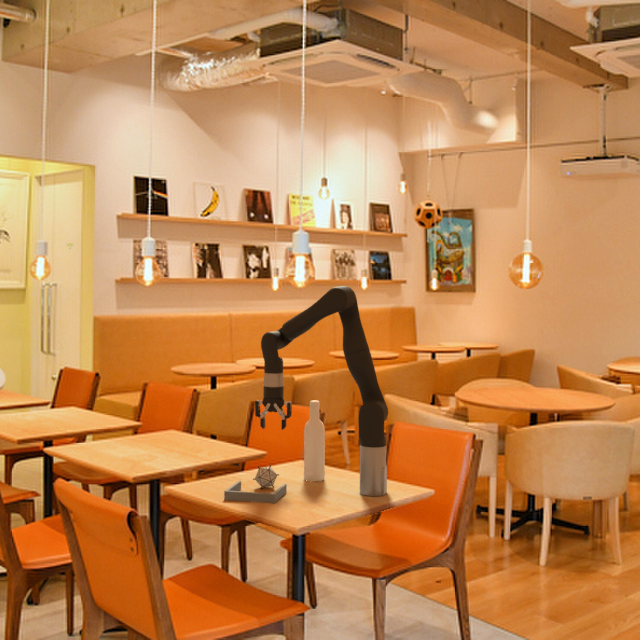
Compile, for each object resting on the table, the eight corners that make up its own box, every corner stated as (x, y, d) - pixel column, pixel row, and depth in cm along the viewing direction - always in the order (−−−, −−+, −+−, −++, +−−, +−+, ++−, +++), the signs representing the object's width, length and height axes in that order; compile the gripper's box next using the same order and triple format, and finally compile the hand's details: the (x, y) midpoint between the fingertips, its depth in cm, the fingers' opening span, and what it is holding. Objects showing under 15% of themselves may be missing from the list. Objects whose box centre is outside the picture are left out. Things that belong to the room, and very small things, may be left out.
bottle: (319, 483, 313) (319, 403, 312) (300, 480, 316) (300, 401, 315) (328, 478, 320) (328, 400, 319) (309, 476, 324) (310, 398, 322)
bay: (286, 492, 299) (286, 484, 299) (274, 503, 284) (274, 494, 284) (238, 489, 303) (238, 480, 303) (224, 499, 289) (224, 491, 288)
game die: (270, 498, 304) (277, 480, 299) (248, 490, 304) (255, 472, 299) (276, 481, 312) (283, 463, 306) (254, 473, 312) (261, 455, 306)
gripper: (294, 384, 315) (294, 428, 316) (258, 382, 318) (257, 426, 319) (289, 386, 307) (289, 431, 308) (252, 385, 311) (251, 429, 312)
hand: (273, 428), depth 314 cm, fingers open, 7 cm apart
